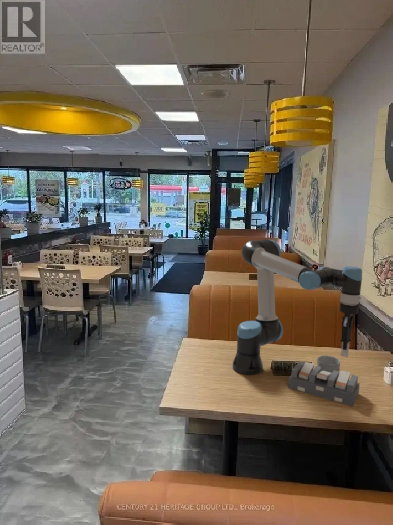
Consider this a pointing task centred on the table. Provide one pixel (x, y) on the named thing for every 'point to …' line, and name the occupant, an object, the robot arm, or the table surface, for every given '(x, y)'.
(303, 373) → the rocker
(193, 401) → the table surface
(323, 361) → the teacup
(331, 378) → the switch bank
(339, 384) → the rocker
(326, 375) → the block
